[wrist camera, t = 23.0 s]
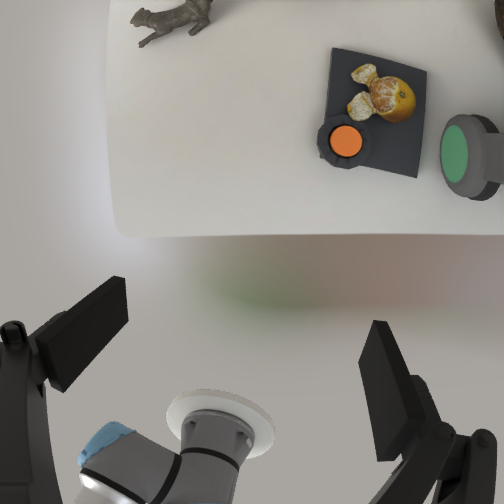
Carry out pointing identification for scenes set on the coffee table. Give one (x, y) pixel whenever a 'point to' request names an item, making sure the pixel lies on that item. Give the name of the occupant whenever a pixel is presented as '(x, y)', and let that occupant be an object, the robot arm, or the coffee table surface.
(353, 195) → the coffee table surface
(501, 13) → the bowl
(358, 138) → the button
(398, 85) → the fruit
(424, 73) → the scale
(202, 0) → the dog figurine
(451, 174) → the grey headset
